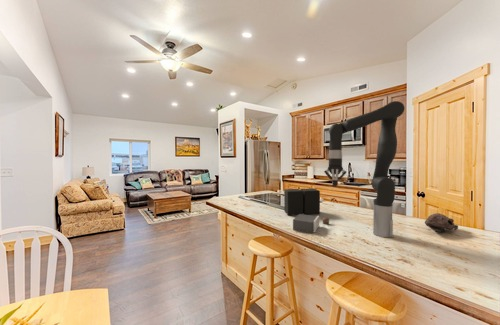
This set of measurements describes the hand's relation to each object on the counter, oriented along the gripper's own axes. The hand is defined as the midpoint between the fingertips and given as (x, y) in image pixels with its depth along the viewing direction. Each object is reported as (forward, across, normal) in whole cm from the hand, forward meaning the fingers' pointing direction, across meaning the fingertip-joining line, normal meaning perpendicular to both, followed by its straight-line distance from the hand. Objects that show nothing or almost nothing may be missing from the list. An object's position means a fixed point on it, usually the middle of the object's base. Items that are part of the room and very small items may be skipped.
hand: (335, 186), depth 130 cm
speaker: (+27, -28, +29) cm, 49 cm away
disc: (+25, -14, -4) cm, 29 cm away
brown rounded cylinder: (+27, -7, +11) cm, 30 cm away
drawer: (+26, -14, -3) cm, 30 cm away
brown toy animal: (+27, +55, +25) cm, 66 cm away
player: (+27, -17, -4) cm, 32 cm away
